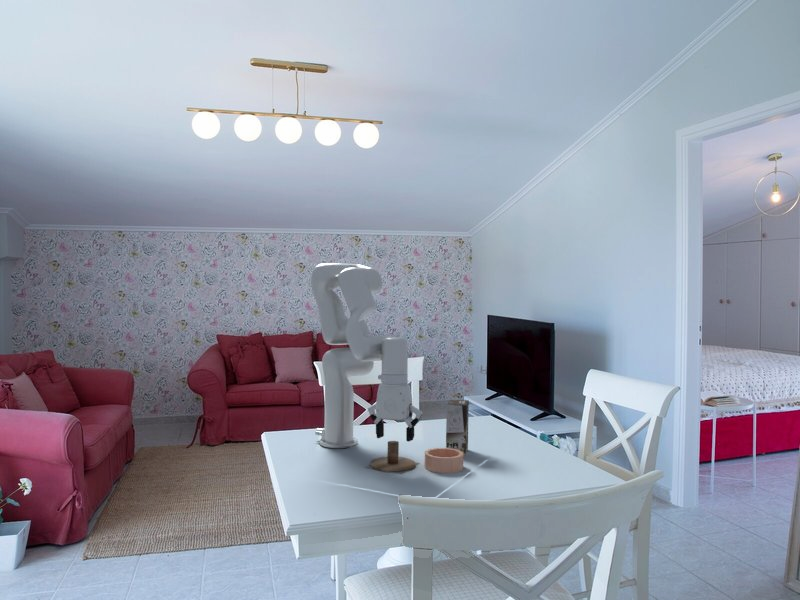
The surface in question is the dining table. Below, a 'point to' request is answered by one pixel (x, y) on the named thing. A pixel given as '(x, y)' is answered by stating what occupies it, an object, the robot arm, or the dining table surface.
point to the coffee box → (457, 425)
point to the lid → (392, 460)
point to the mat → (393, 472)
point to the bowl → (443, 460)
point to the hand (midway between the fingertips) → (394, 438)
